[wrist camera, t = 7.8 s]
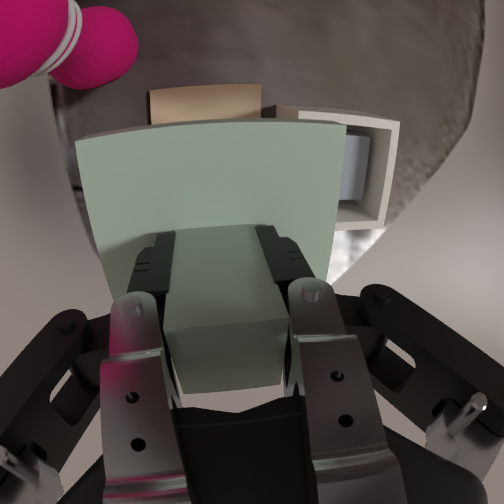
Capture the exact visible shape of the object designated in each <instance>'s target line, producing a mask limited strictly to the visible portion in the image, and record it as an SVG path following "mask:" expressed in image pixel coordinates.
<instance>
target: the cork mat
mask: <svg viewBox="0 0 504 504" xmlns="http://www.w3.org/2000/svg"><path fill="white" fill-rule="evenodd" d="M150 107H151V123H152V125H154V124H162V123H172V122H183V121H195V120H211V119H234V118H261V84H225V85H202V86H188V87H176V88H167V89H158V90H150Z"/></svg>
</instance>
